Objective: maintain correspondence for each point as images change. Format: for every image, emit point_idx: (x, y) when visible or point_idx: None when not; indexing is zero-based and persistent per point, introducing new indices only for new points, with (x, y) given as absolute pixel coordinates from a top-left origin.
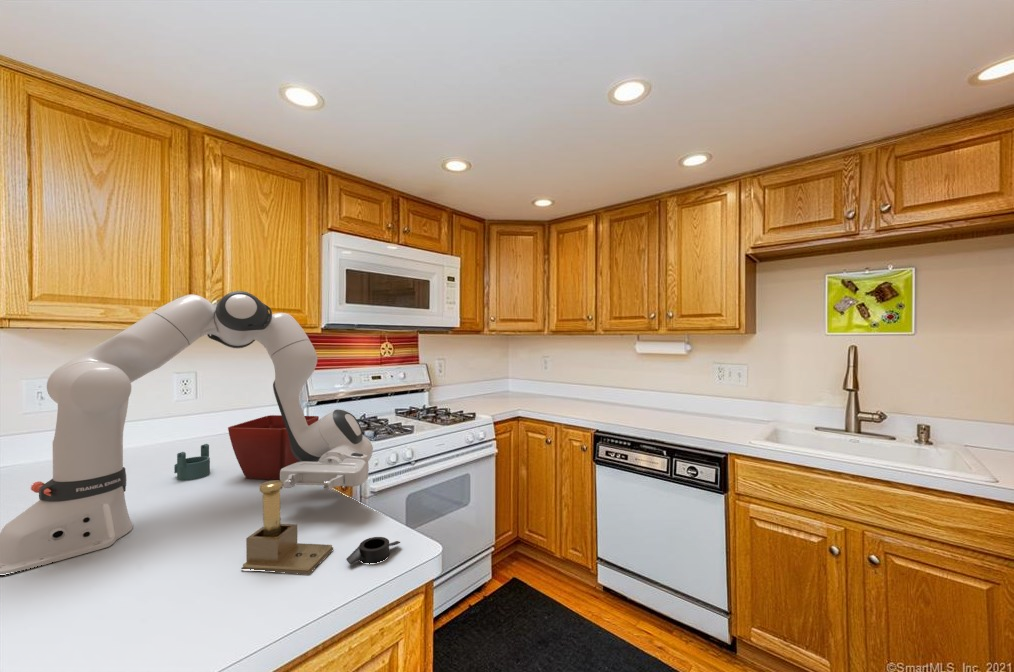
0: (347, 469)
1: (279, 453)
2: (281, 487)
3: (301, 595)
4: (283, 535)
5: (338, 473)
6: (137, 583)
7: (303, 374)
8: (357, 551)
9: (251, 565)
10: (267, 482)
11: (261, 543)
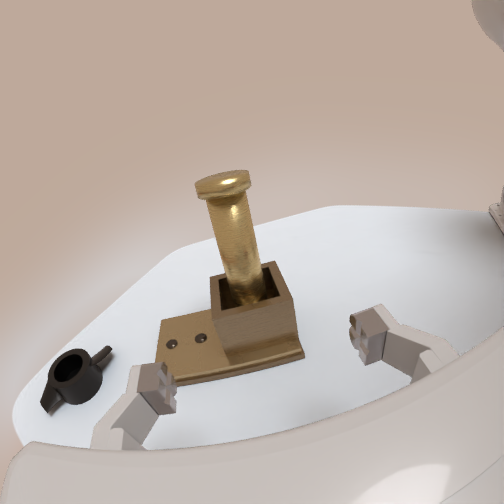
0: (65, 482)
1: None
2: (197, 194)
3: (154, 300)
4: (210, 287)
5: (114, 450)
6: (382, 245)
7: None
8: (95, 358)
9: None
10: (239, 175)
11: None
